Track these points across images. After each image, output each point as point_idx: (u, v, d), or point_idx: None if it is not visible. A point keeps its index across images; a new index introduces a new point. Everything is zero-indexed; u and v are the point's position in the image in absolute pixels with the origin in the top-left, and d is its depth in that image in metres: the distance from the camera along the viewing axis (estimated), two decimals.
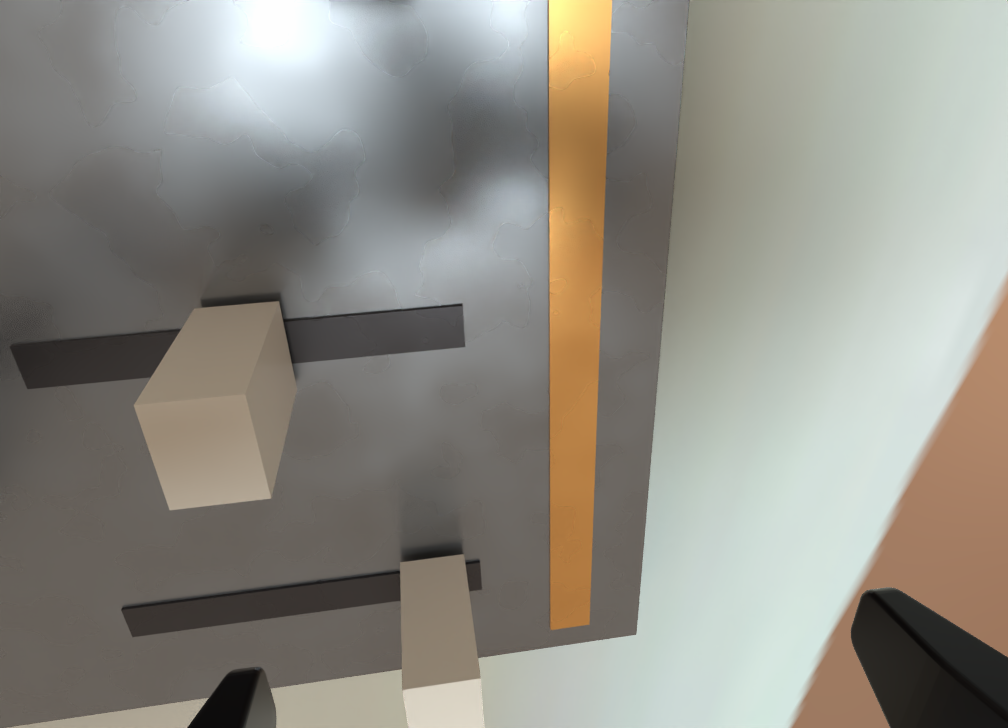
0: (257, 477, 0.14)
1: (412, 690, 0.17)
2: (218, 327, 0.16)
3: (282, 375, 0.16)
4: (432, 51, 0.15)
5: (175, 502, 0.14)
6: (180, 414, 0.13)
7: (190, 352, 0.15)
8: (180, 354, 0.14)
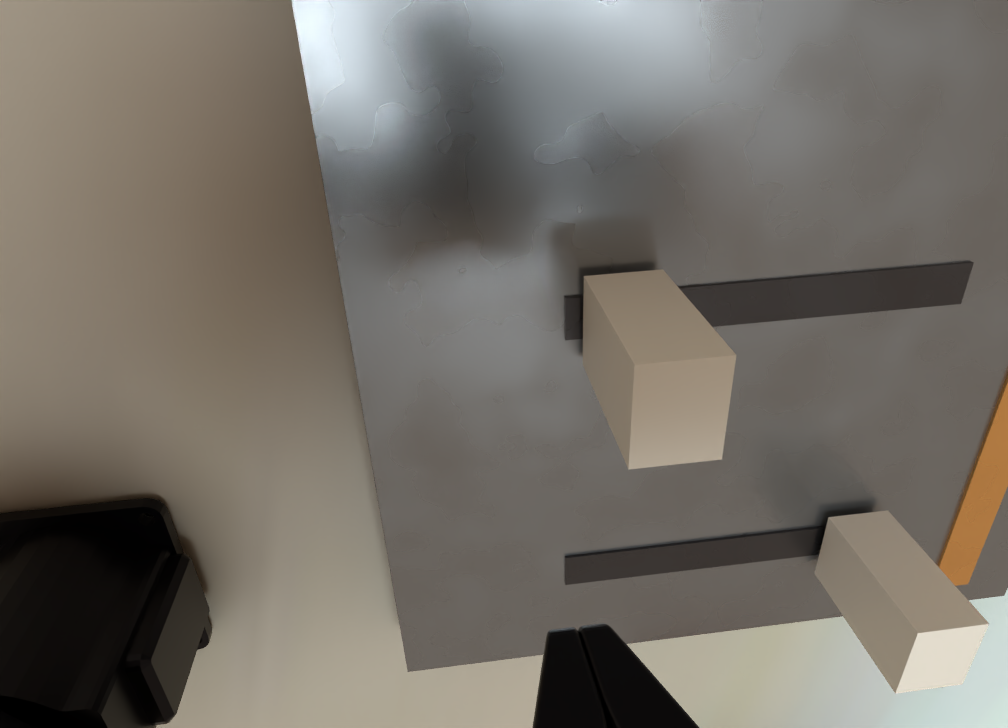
0: (717, 437, 0.14)
1: (926, 633, 0.18)
2: (631, 293, 0.16)
3: None
4: None
5: (636, 461, 0.14)
6: (671, 374, 0.13)
7: (631, 316, 0.15)
8: (623, 318, 0.15)
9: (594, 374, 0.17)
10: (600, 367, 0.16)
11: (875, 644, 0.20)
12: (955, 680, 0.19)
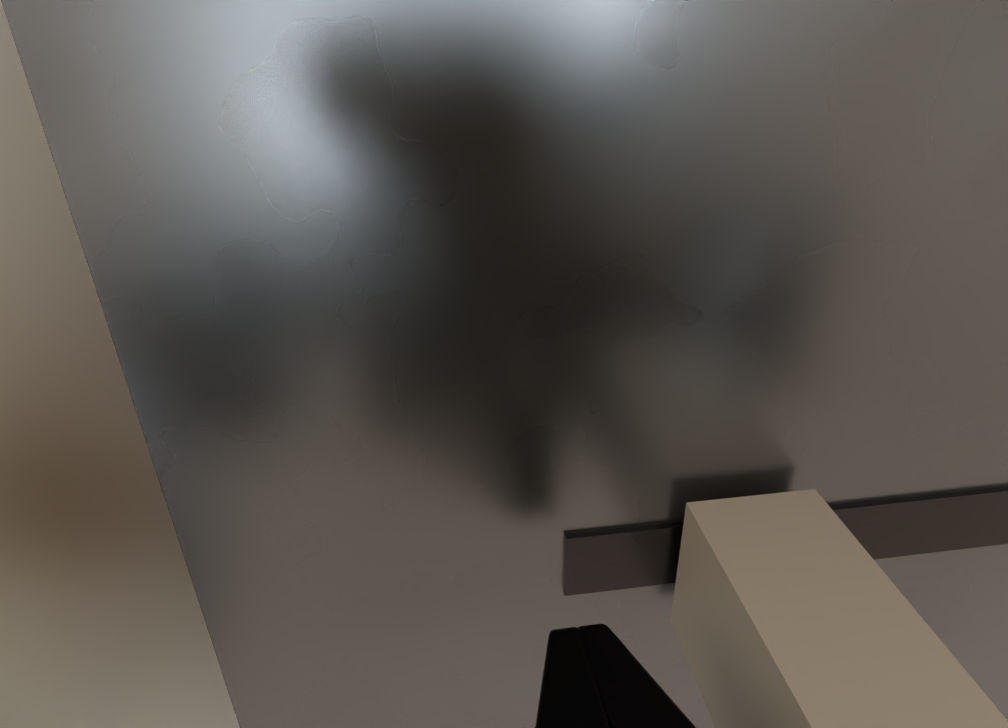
0: None
1: None
2: (782, 558, 0.09)
3: None
4: None
5: None
6: None
7: (804, 634, 0.08)
8: (791, 640, 0.08)
9: (704, 672, 0.10)
10: (726, 685, 0.09)
11: None
12: None
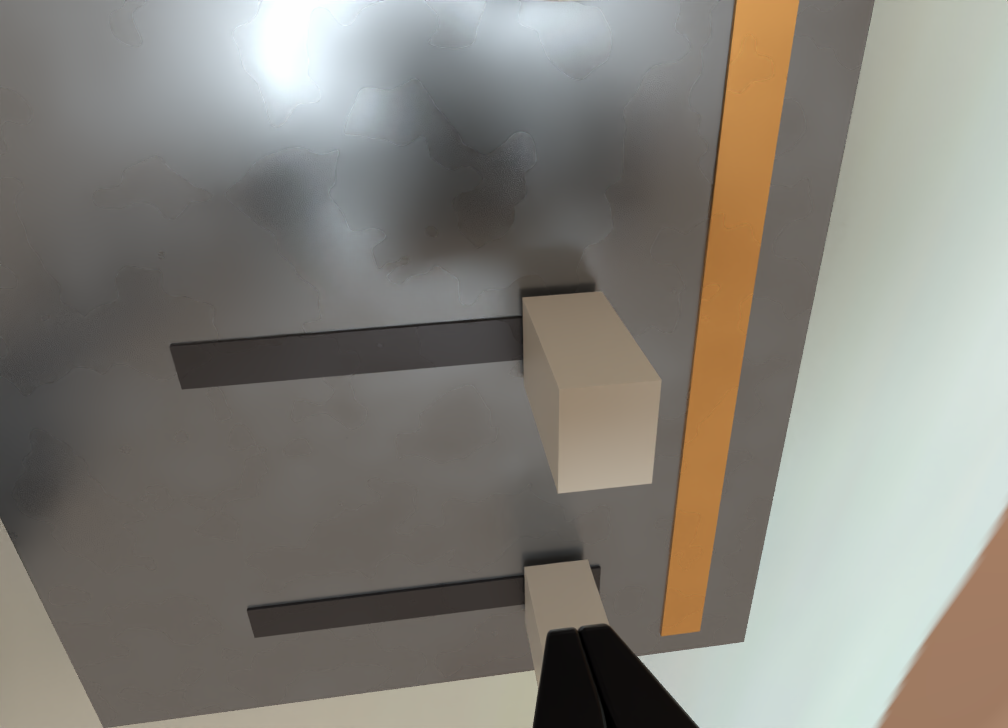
0: (646, 462, 0.14)
1: None
2: (566, 315, 0.16)
3: None
4: (615, 53, 0.15)
5: (565, 486, 0.14)
6: (598, 399, 0.13)
7: (563, 339, 0.15)
8: (555, 341, 0.15)
9: (532, 396, 0.17)
10: (536, 389, 0.16)
11: None
12: None
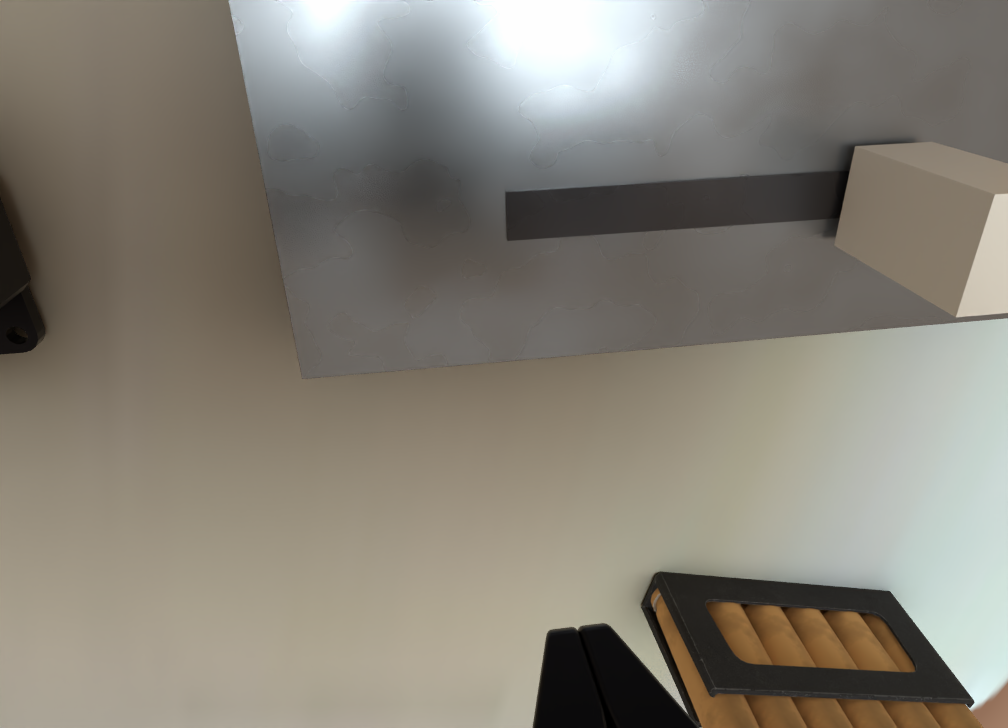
0: None
1: (1006, 196, 0.13)
2: None
3: None
4: None
5: None
6: None
7: None
8: None
9: None
10: None
11: (924, 269, 0.15)
12: None
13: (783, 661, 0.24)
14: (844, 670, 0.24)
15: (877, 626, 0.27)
